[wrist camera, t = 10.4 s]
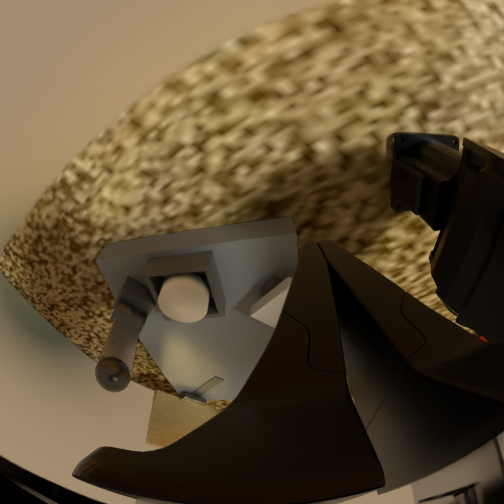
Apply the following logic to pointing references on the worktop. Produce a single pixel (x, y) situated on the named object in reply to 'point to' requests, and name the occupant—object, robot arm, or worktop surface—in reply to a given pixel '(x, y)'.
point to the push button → (184, 297)
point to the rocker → (271, 304)
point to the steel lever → (120, 347)
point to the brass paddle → (175, 417)
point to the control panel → (220, 299)
